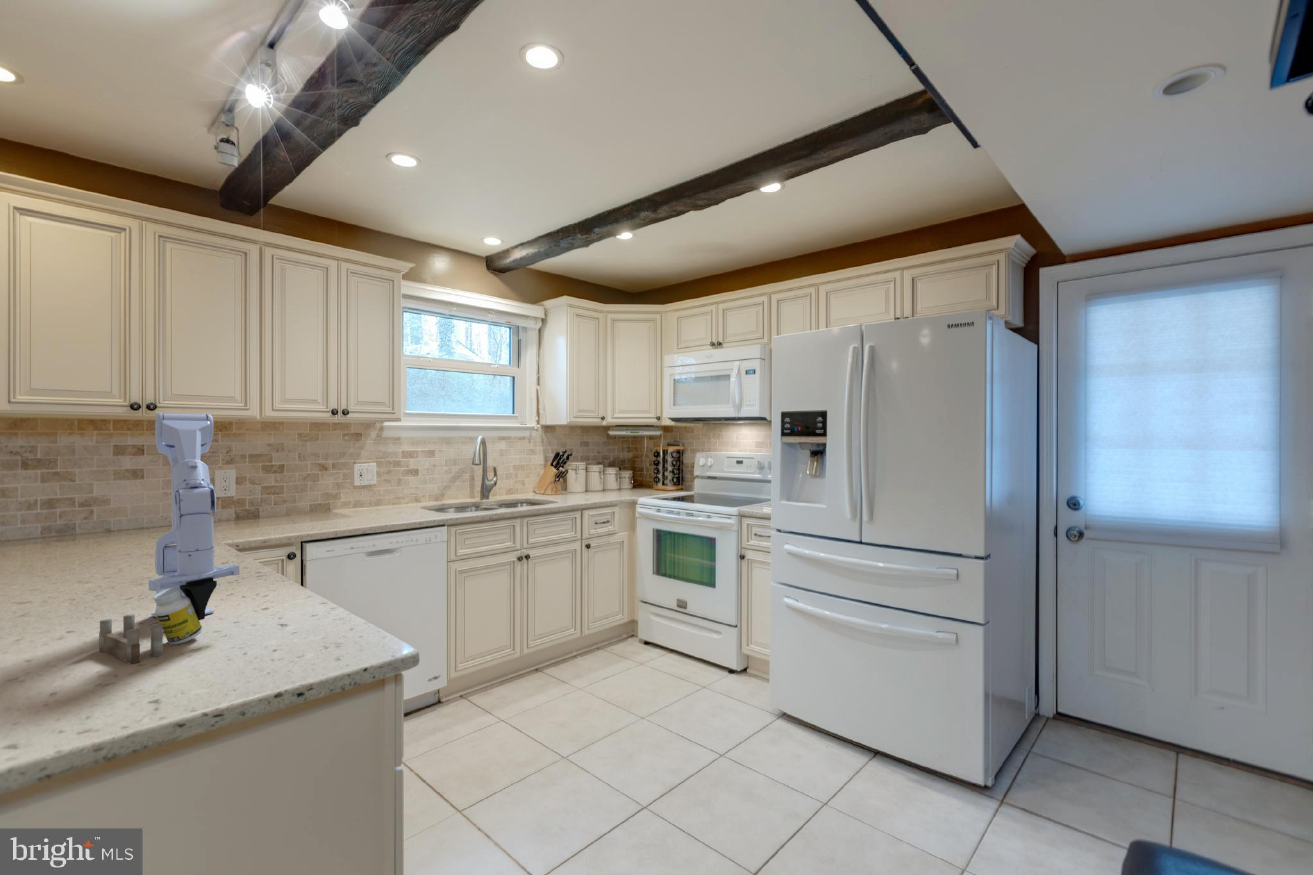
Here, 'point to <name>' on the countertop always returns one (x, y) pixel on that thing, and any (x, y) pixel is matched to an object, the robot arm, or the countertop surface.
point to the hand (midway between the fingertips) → (197, 619)
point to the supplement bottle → (177, 616)
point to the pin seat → (128, 640)
